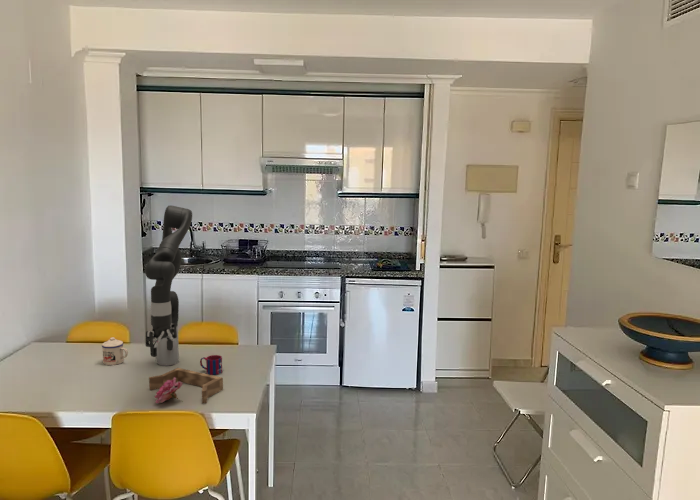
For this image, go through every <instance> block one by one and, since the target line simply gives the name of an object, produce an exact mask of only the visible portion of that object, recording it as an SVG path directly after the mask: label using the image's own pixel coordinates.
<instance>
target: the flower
mask: <svg viewBox="0 0 700 500" xmlns="http://www.w3.org/2000/svg"><path fill="white" fill-rule="evenodd" d="M183 384H184V383H183V382H180V381H179V382H176V378H174V379H173V380H167V382H165V383H164V384H163V386H162V387H161V388H160V389H158V391H157V392H156V393H155V395H154V398H155V399H156V400H155V403H156V404H158V405H159V404H162V403H164V402H165V401H168V400H171V399H177V400H179V397H178V396H177V393H176V392H177V391H178V390H180V389H181V387H182V386H183ZM181 402H182V403H183V402H184V401H183V400H181Z"/></svg>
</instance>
